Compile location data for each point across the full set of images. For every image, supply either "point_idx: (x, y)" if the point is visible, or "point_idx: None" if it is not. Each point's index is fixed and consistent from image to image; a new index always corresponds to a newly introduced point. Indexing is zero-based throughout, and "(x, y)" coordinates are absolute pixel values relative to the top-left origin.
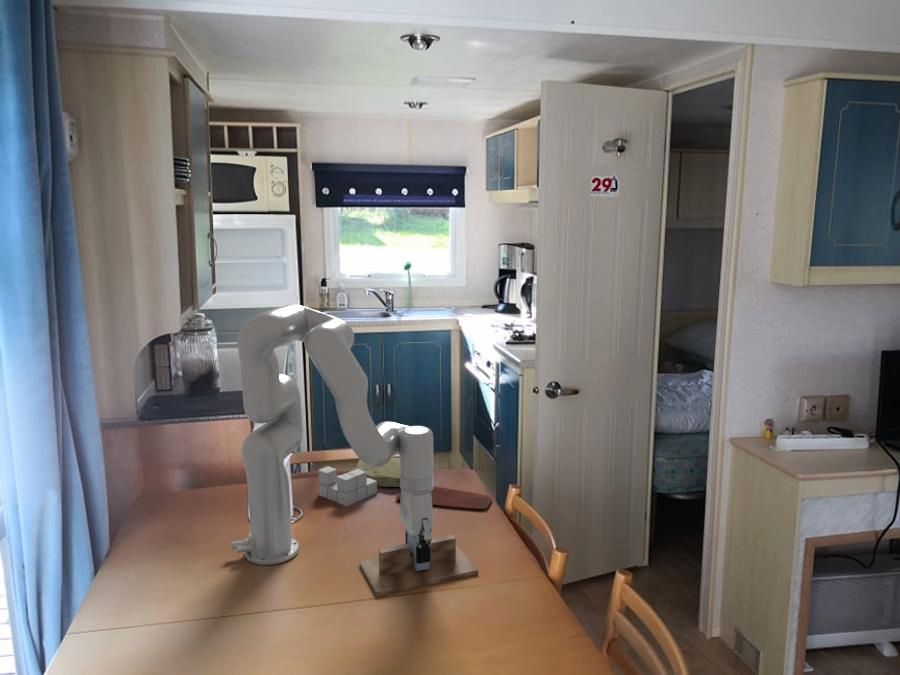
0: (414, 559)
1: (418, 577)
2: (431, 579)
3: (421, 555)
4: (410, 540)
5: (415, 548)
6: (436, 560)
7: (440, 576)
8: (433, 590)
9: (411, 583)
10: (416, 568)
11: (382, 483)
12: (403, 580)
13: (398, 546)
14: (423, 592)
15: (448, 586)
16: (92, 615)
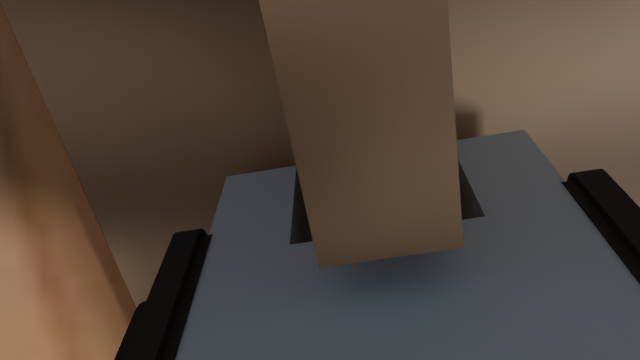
0: (289, 215)
1: (164, 166)
2: (124, 257)
3: (120, 350)
4: (472, 323)
5: (225, 340)
6: None
7: None
8: (37, 232)
9: (57, 89)
10: (233, 186)
11: None
12: (116, 18)
13: (404, 100)
14: (3, 159)
15: (93, 327)
16: None
